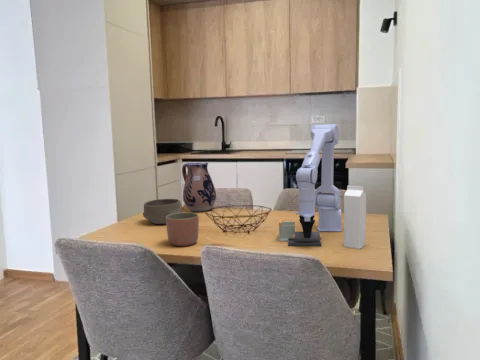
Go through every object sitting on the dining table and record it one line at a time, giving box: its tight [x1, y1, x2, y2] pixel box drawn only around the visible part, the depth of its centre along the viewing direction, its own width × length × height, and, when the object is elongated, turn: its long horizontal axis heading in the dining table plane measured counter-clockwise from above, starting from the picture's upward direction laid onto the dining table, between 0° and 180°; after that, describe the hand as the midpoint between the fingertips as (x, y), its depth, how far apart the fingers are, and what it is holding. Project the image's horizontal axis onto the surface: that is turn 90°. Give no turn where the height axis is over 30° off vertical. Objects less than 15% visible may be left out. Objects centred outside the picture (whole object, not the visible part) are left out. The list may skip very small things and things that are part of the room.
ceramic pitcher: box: [181, 162, 217, 213], centre depth 226 cm, size 18×21×25 cm
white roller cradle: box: [278, 221, 296, 242], centre depth 167 cm, size 14×9×6 cm, turn 83°
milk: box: [343, 184, 367, 250], centre depth 153 cm, size 6×6×22 cm
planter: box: [165, 211, 200, 247], centre depth 163 cm, size 12×12×11 cm
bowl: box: [142, 198, 183, 225], centre depth 200 cm, size 17×18×10 cm
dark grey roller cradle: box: [287, 238, 322, 247], centre depth 159 cm, size 12×6×1 cm, turn 83°
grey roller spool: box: [293, 231, 323, 243], centre depth 158 cm, size 11×4×4 cm, turn 83°
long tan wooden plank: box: [278, 217, 284, 227], centre depth 166 cm, size 1×9×1 cm, turn 173°
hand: (307, 236), depth 158 cm, fingers open, 4 cm apart
